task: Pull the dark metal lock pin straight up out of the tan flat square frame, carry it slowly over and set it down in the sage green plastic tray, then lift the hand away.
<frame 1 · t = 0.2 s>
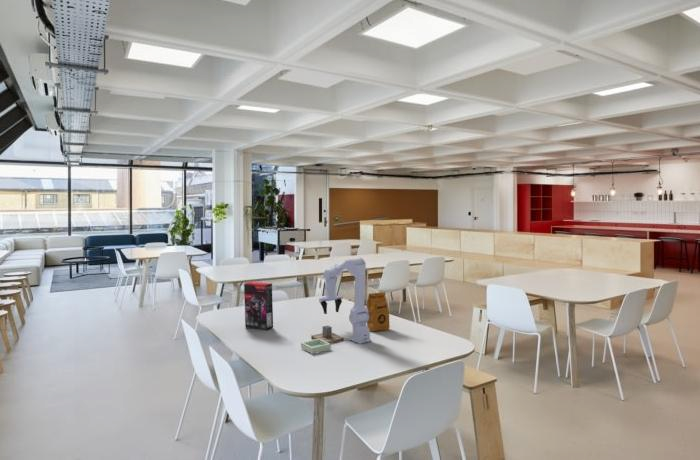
hand: (331, 312, 253), 10 cm above the table, tool pointing down, fingers open, 7 cm apart
coffee package: (378, 330, 251), on the table
tray: (315, 348, 219), on the table
tan flat square frame: (327, 339, 235), on the table
graphics card box: (259, 328, 259), on the table
lock pin: (327, 333, 235), in the tan flat square frame
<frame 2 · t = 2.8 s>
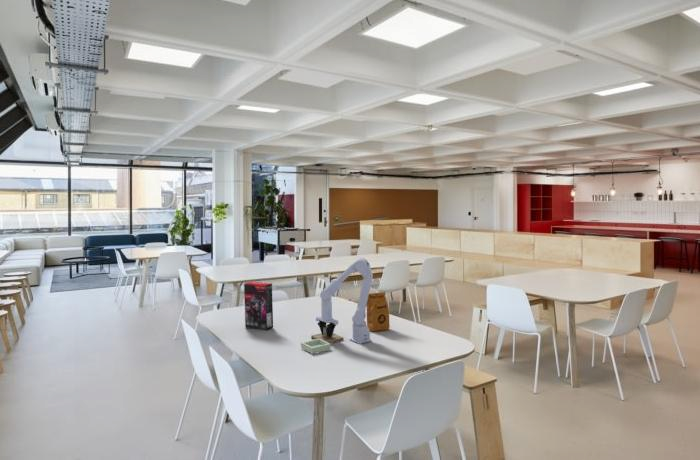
hand: (327, 335, 235), 2 cm above the table, tool pointing down, fingers closed on lock pin, 4 cm apart
lock pin: (327, 333, 235), in the tan flat square frame, touching gripper
everything else where it was.
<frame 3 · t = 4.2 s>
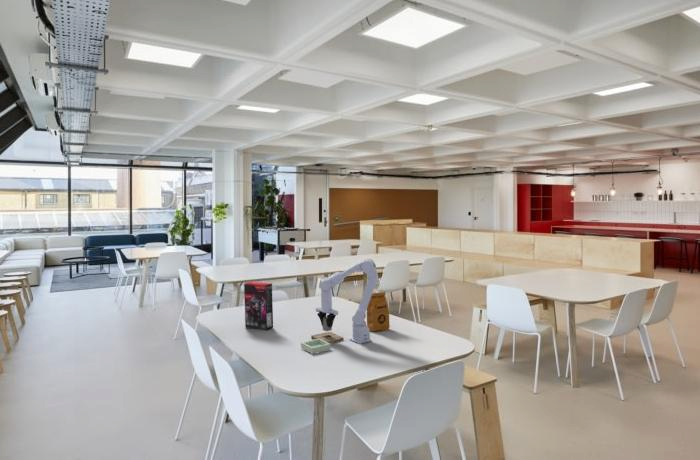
hand: (327, 326, 235), 7 cm above the table, tool pointing down, fingers closed on lock pin, 4 cm apart
lock pin: (327, 323, 234), point 9 cm above the table, touching gripper
everything else where it was.
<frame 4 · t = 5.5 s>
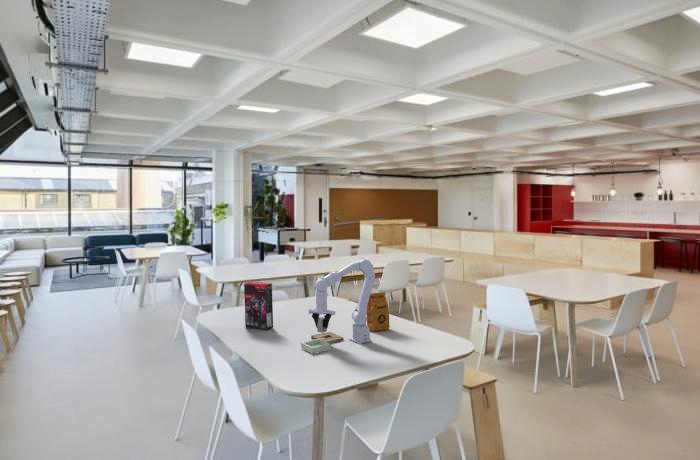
hand: (322, 327, 228), 8 cm above the table, tool pointing down, fingers closed on lock pin, 4 cm apart
lock pin: (322, 324, 228), point 10 cm above the table, touching gripper
everything else where it was.
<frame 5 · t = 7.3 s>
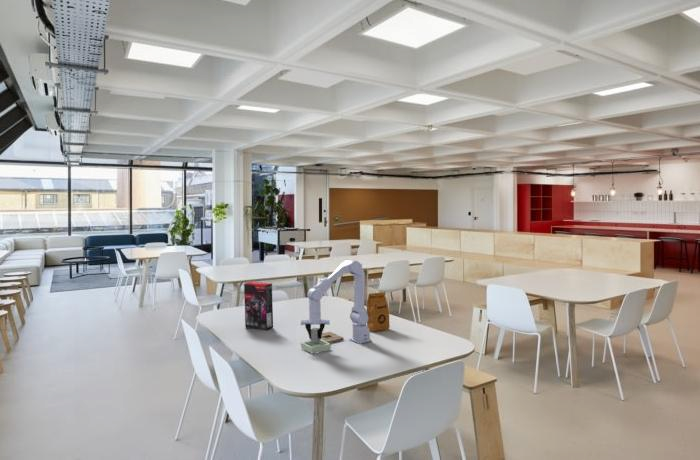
hand: (315, 338, 219), 5 cm above the table, tool pointing down, fingers closed on lock pin, 4 cm apart
lock pin: (315, 335, 219), point 7 cm above the table, touching gripper
everything else where it was.
when the fingers open (4 cm above the table, at t = 8.5 s): lock pin stays where it is, resting on tray.
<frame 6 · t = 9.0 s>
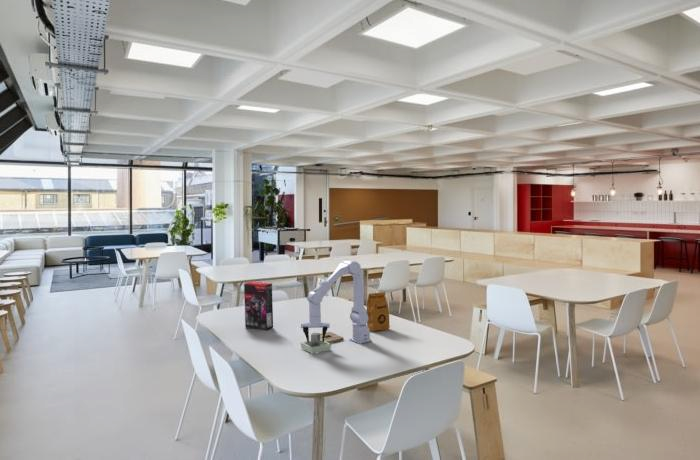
hand: (315, 341, 219), 4 cm above the table, tool pointing down, fingers open, 7 cm apart
lock pin: (315, 340, 219), in the tray, point 4 cm above the table
everything else where it was.
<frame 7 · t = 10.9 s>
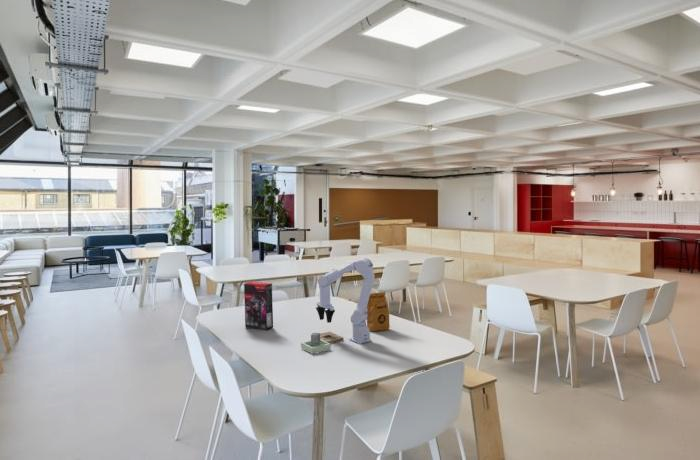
hand: (325, 320, 240), 9 cm above the table, tool pointing down, fingers open, 7 cm apart
nothing on the table moved.
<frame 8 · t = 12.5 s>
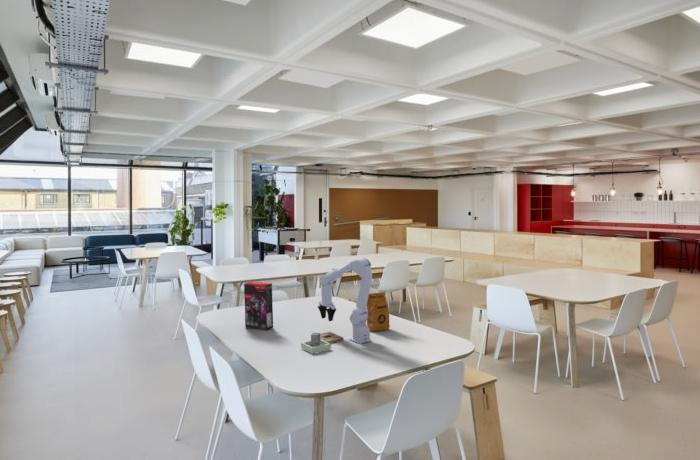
hand: (327, 319, 244), 8 cm above the table, tool pointing down, fingers open, 7 cm apart
nothing on the table moved.
at the end: lock pin inside the target area on the tray (0.0 cm from its centre), point 4.3 cm above the tray's base; lock pin moved 16.4 cm from its start; the gripper is holding nothing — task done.
